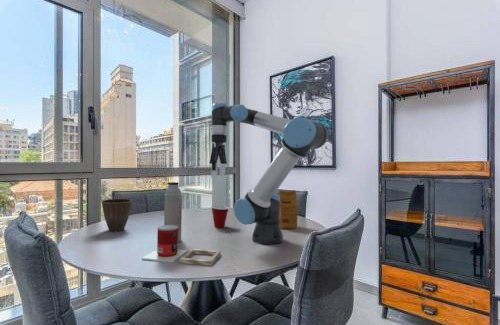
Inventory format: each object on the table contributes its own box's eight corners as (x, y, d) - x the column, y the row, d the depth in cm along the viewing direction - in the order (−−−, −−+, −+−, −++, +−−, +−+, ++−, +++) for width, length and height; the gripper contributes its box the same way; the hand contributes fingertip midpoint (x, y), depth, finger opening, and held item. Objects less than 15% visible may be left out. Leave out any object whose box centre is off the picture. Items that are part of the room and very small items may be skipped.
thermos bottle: (183, 239, 138) (184, 182, 138) (176, 243, 130) (177, 183, 130) (168, 238, 139) (169, 181, 139) (160, 242, 131) (161, 182, 131)
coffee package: (273, 225, 171) (274, 189, 171) (293, 225, 173) (293, 189, 173) (278, 229, 161) (278, 191, 161) (298, 229, 163) (299, 191, 163)
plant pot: (137, 229, 156) (137, 200, 156) (111, 234, 144) (112, 203, 144) (121, 225, 164) (121, 198, 164) (95, 230, 152) (96, 200, 152)
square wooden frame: (220, 254, 116) (220, 251, 116) (210, 265, 103) (210, 261, 103) (192, 252, 118) (192, 248, 118) (179, 262, 106) (179, 258, 106)
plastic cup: (228, 229, 160) (228, 208, 160) (209, 228, 160) (209, 207, 160) (229, 224, 171) (230, 205, 171) (212, 224, 171) (212, 204, 171)
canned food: (176, 257, 110) (176, 228, 110) (155, 257, 109) (155, 229, 109) (178, 250, 118) (179, 224, 118) (159, 251, 117) (159, 224, 117)
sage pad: (187, 251, 119) (187, 250, 119) (173, 262, 106) (173, 260, 106) (159, 249, 121) (159, 248, 121) (141, 259, 108) (141, 258, 108)
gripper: (219, 136, 154) (218, 175, 154) (203, 131, 130) (202, 177, 130) (232, 136, 153) (231, 175, 153) (219, 131, 128) (218, 178, 128)
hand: (218, 176), depth 141 cm, fingers open, 13 cm apart
